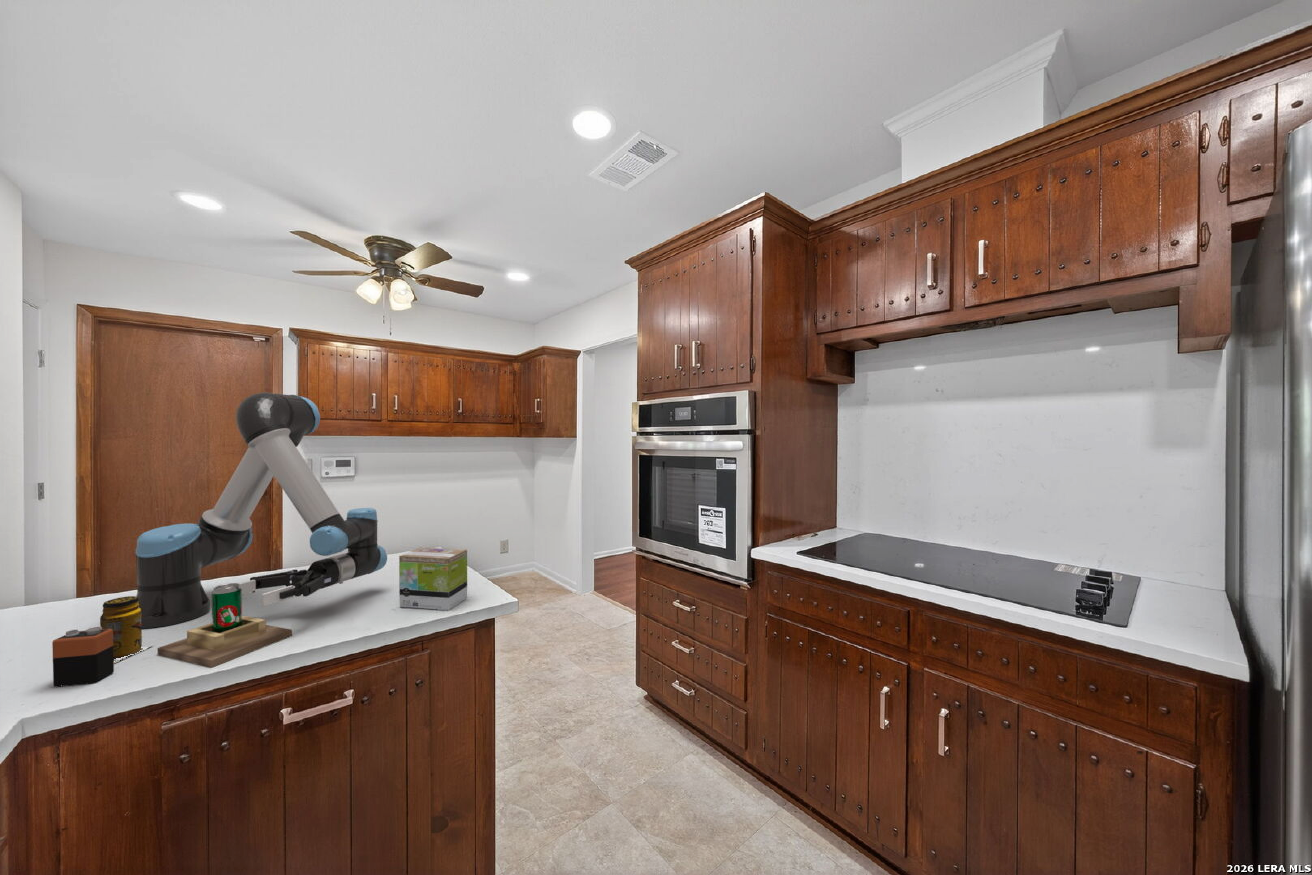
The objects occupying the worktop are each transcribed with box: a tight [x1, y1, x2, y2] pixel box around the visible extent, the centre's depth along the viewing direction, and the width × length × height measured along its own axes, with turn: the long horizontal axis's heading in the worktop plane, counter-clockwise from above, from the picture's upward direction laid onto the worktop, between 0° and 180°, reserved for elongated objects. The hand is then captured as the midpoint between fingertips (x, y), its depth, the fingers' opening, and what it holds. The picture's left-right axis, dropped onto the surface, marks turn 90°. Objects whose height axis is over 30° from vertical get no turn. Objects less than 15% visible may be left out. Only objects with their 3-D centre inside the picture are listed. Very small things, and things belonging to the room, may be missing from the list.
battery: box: [51, 626, 115, 687], centre depth 94 cm, size 4×7×10 cm, turn 104°
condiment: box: [99, 595, 148, 664], centre depth 104 cm, size 7×8×12 cm
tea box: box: [398, 546, 468, 612], centre depth 135 cm, size 15×10×15 cm, turn 82°
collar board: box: [156, 615, 293, 669], centre depth 109 cm, size 18×16×4 cm
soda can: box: [211, 582, 243, 633], centre depth 109 cm, size 5×5×12 cm
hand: (242, 596), depth 112 cm, fingers open, 13 cm apart
